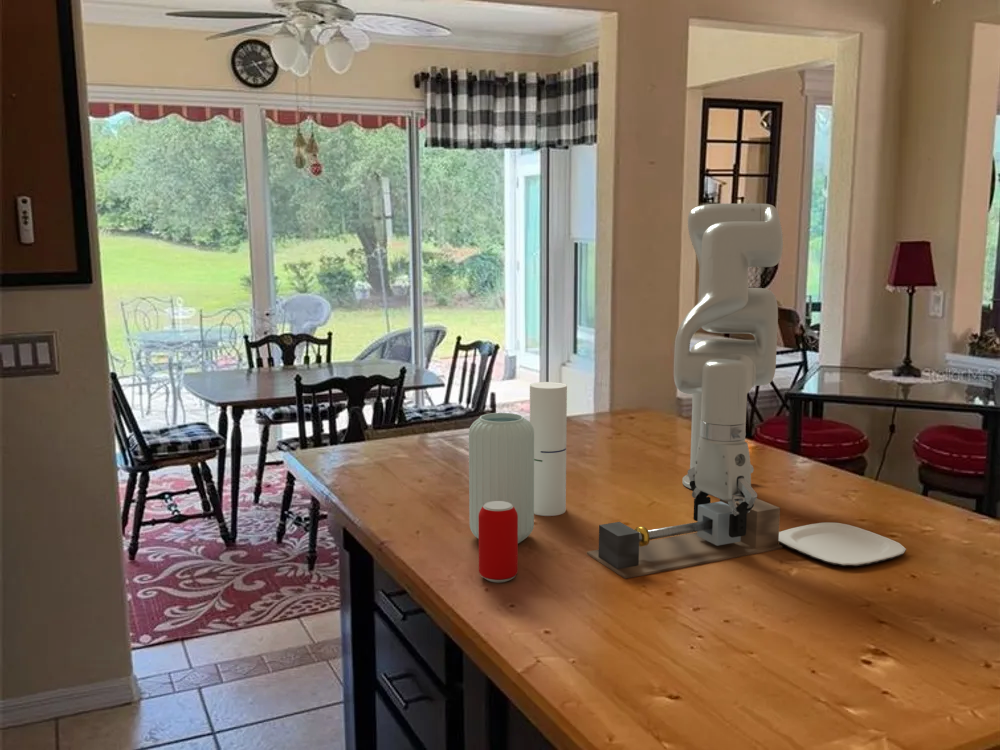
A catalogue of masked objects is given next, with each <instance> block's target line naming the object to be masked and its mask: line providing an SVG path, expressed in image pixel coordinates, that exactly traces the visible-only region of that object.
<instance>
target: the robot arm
mask: <svg viewBox="0 0 1000 750" xmlns="http://www.w3.org/2000/svg"><path fill="white" fill-rule="evenodd" d="M687 228H688V235H689V239H690V242H691V245H692V247H693V250H694V252H695V254H696V255H695V256H696V258H697V262H698V269H699V270H698V271H699V273H698V275H699V277H698V299H697V301H698V302H697V303H696V305H695V306H693V307H692V309H690V310H689V311H688V313H687V314H686V315H685V316H684V317H683V319H682V320H681V323H680V324H679V326H678V329H677V332H676V335H675V339H674V340H675V341H674V355H673V381H674V385H675V388H676V389H677V390H678V391H679V392H681V393H683V394H686V395H687V394H688V395H690V394H691V398H692V399H691V404H692V405H691V406H692V408H691V435H690V437H691V438H690V462H689V463H690V464H689V469H688V470H687V474H686V475H684V476H683V477H682V485H683V486H684V487H685V488H688V489H690V490H691V491H692V492H691V496H692V497H691V498H693V517H692V519H693V520H694V521H696V522H697V520H698V505H702V504H708V503H711V497H710V496H712V497H715V498H717V499H719V500H720V499H722V500H724V501H728V504H729V506H730V508H731V511H732V513H733V514H730V517H729V536H730V537H732V538H734V537H739V536H745V535H746V522H747V514H748V513H749V512H750V510H751V509H752V508H753V506H754V502H755V500H756V498H757V497H758V494H757V492H756V491H755V489H754V488H753V487H752V475H751V474H753V473H754V466H753V465H752V464H751V458H750V457H751V455H750V451H749V449H750V448H749V444H748V442H746V435H747V433H746V429H747V428H746V426H747V425H746V424H747V405H748V402H747V399H748V393H750V391H751V390H752V388H754V387H756V386H766V385H769V384H770V383H772V381H773V380H774V377H775V373H776V367H777V347H778V346H777V345H778V344H777V343H778V327H779V326H778V323H779V322H778V321H779V320H778V319H779V306H778V301H777V297H776V295H775V293H774V292H773V291H772V290H770V289H767V288H764V287H763V288H762V287H749V268H772V267H775V266H776V265H778V264H779V262H780V260H781V259H782V254H783V248H784V239H783V238H784V236H783V235H784V234H783V228H782V224H781V219H780V214H779V212H778V209H777V208H776V207H775V206H774V205H772V204H769V203H709V204H702V205H701V204H700V205H698V206H695V207H693V208H692V209H691V210H690V212H689V213H688V216H687ZM701 329H702V330H703V331H706V332H708V333H715V334H716V333H717V334H738V335H739V334H741V335H742V334H746V335H752V336H753V338H754V339H733V338H730V339H729V338H728V339H727V338H708V339H703V340H699V341H697V342H695V344H694V345H693V346H692V347H690V346H691V340H692V338H693V336H694V334H695V333H697V331H699V330H701ZM733 495H735V496H733ZM757 499H758V498H757ZM735 501H739V503H740V505H739V506H738V507H737V505H736V502H735Z"/></svg>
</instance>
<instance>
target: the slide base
mask: <svg viewBox="0 0 1000 750" xmlns="http://www.w3.org/2000/svg"><path fill="white" fill-rule="evenodd" d="M733 496H735V495H733ZM720 501H721V502H724V503H726V504H728V501H724V500H722V499H719V502H720ZM735 502H736V505H737V507H738V506H739V505H740V503H739V501H735ZM728 505H729V504H728ZM780 515H781V507H779V506H776V505H774V504H772V503H769V502H768V501H767V502H766V501H764V500H762V499H760V498H756V500H755V502H754V506H753V508H752V509H751V510H750V512H749V513H748V514H747V522H746V535H745V536H741V539H740V542H734V543H729V544H724V545H718V546H717V545H715V544H713V543H711V542H709V541H707V540H705V539H703V538H701V537H699V536H697V532H693V533H687V534H681V535H675V536H670V537H664V538H658V539H653V540H650V541H649V544H648V545H647V546H641V547H640V546H639V532H637V531H635V528H632V527H630V526H628V525H626V524H625V523H623V522H621V521H617V522H608V523H604V524H598V549H595V550H594V549H593V550H588V551H586V554H587V556H589V557H591V558H593V559H594V560H595V561H597V562H598V563H600V564H602V565H603V566H605V567H606V568H608V569H609V570H611V571H612V572H613V573H615V574H617V575H619V576H620V577H622V578H623V579H631V578H636V577H641V576H646V575H651V574H652V575H653V574H657V573H660V572H667V571H673V570H676V569H682V568H687V567H693V566H698V565H702V564H703V565H704V564H709V563H713V562H719V561H723V560H728V559H729V560H730V559H736V558H739V557H744V556H749V555H754V554H759V553H765V552H771V551H775V550H781V549H783V545H782V544H779V542H778V540H779V532H780V517H781V516H780Z"/></svg>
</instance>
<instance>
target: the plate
mask: <svg viewBox="0 0 1000 750" xmlns="http://www.w3.org/2000/svg"><path fill="white" fill-rule="evenodd" d="M779 543H780V545H782V546H785V547H787V548H789V549H791V550H793V551H797V552H798V553H801V554H803V555H806V556H808V557H810V558H813V559H815V560H818V561H821V562H824V563H827V564H830V565H837V566H841V567H858V566H865V565H872V564H875V563H880V562H884V561H888V560H892V559H894V558H897V557H900V556H902V555H904V553H905V552H906V551H907V548H905V547H904V546H903V545H902V544H901V543H900V542H898V541H895V540H893V539H891V538H888V537H886V536H883V535H880V534H878V533H875V532H872V531H870V530H866V529H864V528H860V527H858V526H854V525H850V524H848V523H847V524H846V523H840V522H817V523H811V524H806V525H800V526H796V527H792V528H788V529H785V530H782V531H779V540H778V544H779Z"/></svg>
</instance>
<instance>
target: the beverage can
mask: <svg viewBox="0 0 1000 750" xmlns="http://www.w3.org/2000/svg"><path fill="white" fill-rule="evenodd" d="M478 518H479V539H478V573H479V575H480V577H482V578H484V579H485V580H487V581H488V582H491V583H496V584H497V583H498V584H499V583H506V582H509V581H511V580H512V579H515V577H516V576H517V575H518V571H519V570H518V568H519V567H518V566H519V565H518V558H519V555H518V553H519V549H518V547H519V545H518V544H519V543H518V515H517V512H516V510H515V508H514V506H513V505H512V504H510V503H508V502H504V501H492V502H488V503H486V504H484V505H483V507H482V508H481V510H480V512H479V516H478Z"/></svg>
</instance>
